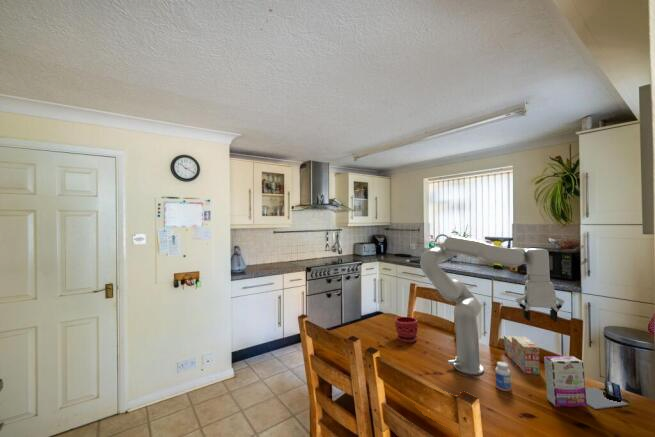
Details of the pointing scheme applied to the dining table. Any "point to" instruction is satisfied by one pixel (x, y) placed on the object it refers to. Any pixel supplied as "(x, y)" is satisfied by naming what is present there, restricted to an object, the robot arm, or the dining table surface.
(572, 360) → the candy bar box
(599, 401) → the mat
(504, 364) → the pill bottle
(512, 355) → the printed cardboard carton
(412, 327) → the plant pot
